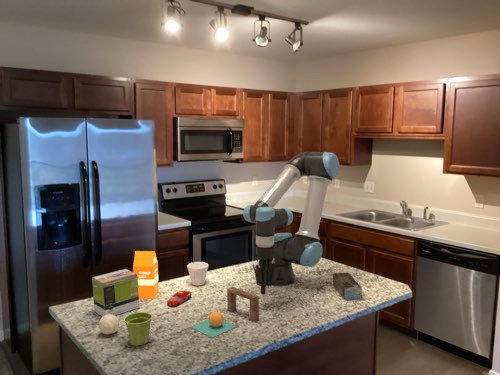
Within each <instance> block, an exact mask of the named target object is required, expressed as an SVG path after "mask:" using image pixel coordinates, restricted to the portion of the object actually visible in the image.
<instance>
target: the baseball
mask: <svg viewBox="0 0 500 375" xmlns="http://www.w3.org/2000/svg"><path fill="white" fill-rule="evenodd" d="M119 326H120V321H119V318H118V317H117V315H112V314H108V315H105V316H103V317H102V316H101V318H100V320H99V321H98V328H99V332H101V333H102V334H103V335H112V334H114V333H116V332H117V331H118V329H119Z"/></svg>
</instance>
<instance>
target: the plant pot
mask: <svg viewBox="0 0 500 375" xmlns="http://www.w3.org/2000/svg"><path fill="white" fill-rule="evenodd" d="M152 319H153V314H151V313H150V312H145V311H140V312H139V311H138V312H133V313H130V314H127V315H126V316H124V318H123V321H124V324H125V325H126V329H127V333H128V338H129V343H130V345H131V346H134V347H135V346H137V347H139V346H140V345H142V346H143V345H146V344H147V343H148V342H149V340H150V338H149V337H150V328H151V323H152Z"/></svg>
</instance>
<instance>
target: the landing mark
mask: <svg viewBox="0 0 500 375" xmlns="http://www.w3.org/2000/svg"><path fill="white" fill-rule="evenodd" d="M237 327H238V326H237V325H234V324H233V323H230V322H228V321H225V320H224V321H223V323H222V325H221V326H219V327H213V326H211V325H210V323H209V319H206V320H204V321H202V322H199V323H196V324H194V325H192V326H190V328H191V329H193V330H195V331H197V332H199V333H202V334H203V335H205V336H207V337H209V338H210V339H213V338H215V337H217V336H220V335H222V334H225V333H227V332H229V331H231V330H233V329H235V328H237Z"/></svg>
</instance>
